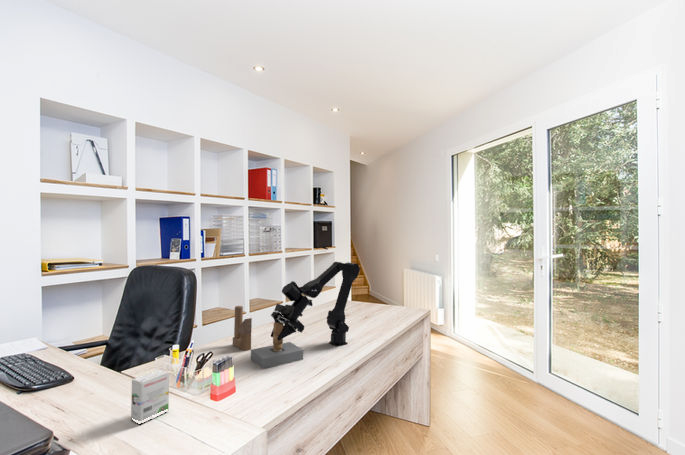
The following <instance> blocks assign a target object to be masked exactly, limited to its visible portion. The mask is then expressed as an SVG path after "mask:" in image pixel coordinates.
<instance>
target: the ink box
mask: <svg viewBox="0 0 685 455" xmlns="http://www.w3.org/2000/svg"><path fill="white" fill-rule="evenodd" d="M169 393H170V372H167V371H165V370H162V369H159V370H155V371H153V372H149V373H147V374H144V375H141V376H139V377H135V378H133V379H131V397H130V398H131V404H130V406H131V407H130V410H131V411H130V412H131V413H130V419H131V418H133V419H135V420H138V421H142V420H144V419H146V418H148V417H150V416H152V415H155V414H157V413H159V412H161V411H164V410H166V409H168V410H169V404H170V403H169V402H170V394H169Z"/></svg>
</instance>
